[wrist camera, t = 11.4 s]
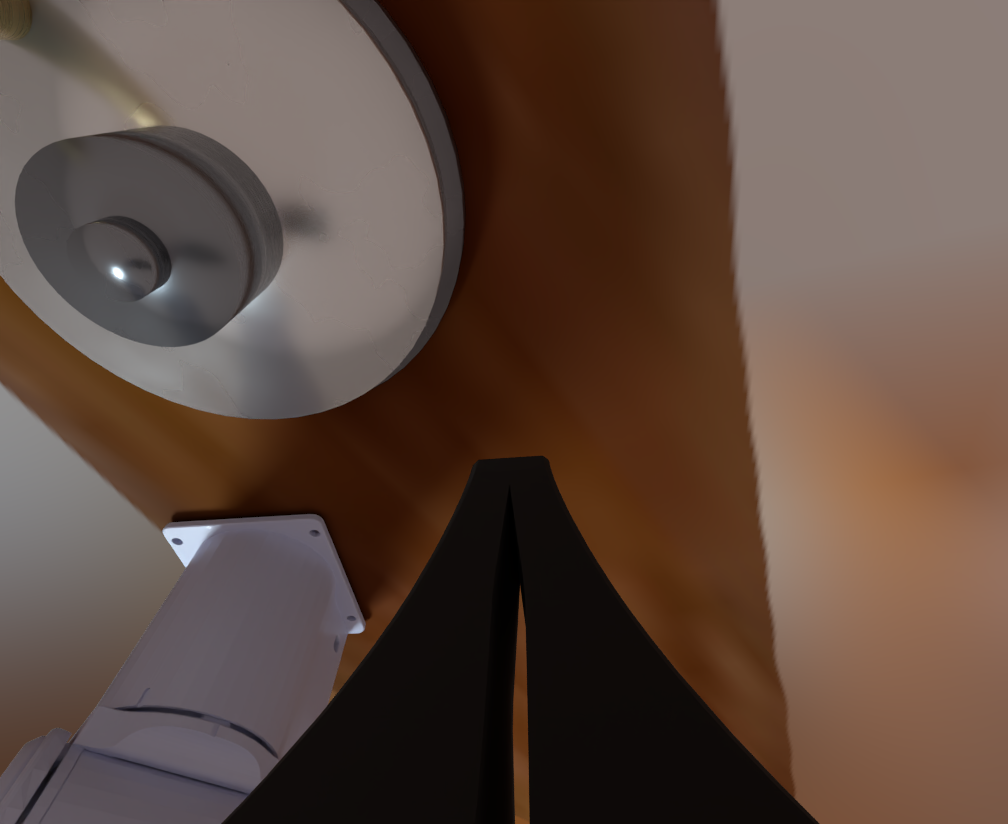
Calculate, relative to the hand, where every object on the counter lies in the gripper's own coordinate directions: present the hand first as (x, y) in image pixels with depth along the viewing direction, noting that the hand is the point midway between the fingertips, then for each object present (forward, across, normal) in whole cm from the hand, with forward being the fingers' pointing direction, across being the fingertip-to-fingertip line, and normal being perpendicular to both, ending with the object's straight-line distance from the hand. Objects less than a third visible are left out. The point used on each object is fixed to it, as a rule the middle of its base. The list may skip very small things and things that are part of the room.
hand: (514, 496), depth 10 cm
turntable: (+9, +9, -4) cm, 13 cm away
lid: (+8, +9, -4) cm, 13 cm away
